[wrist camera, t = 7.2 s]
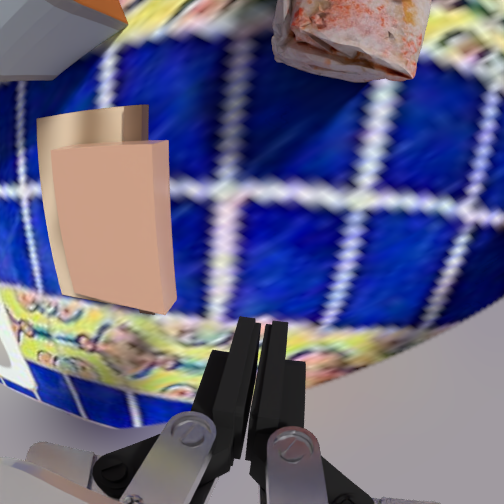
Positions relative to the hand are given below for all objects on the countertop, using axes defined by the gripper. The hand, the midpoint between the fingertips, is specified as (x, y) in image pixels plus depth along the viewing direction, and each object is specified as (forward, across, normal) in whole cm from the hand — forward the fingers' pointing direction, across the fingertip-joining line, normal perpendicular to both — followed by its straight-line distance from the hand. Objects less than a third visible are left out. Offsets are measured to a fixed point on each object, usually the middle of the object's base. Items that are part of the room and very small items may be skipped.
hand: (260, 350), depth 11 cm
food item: (+14, -3, -17) cm, 22 cm away
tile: (+10, +8, 0) cm, 12 cm away
